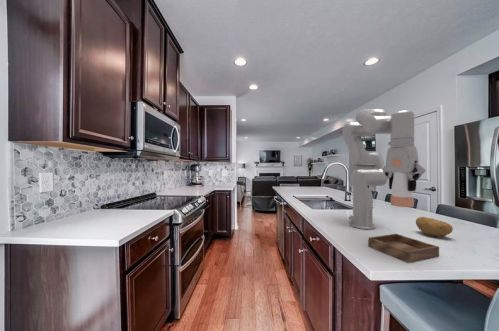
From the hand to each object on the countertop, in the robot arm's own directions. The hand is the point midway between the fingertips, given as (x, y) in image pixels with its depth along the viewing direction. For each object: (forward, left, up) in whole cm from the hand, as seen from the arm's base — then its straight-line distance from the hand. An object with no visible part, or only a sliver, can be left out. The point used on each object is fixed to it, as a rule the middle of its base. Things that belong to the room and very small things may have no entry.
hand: (401, 189), depth 83 cm
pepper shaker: (0, 0, -6) cm, 6 cm away
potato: (-8, +33, -24) cm, 42 cm away
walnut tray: (0, 0, -24) cm, 24 cm away
